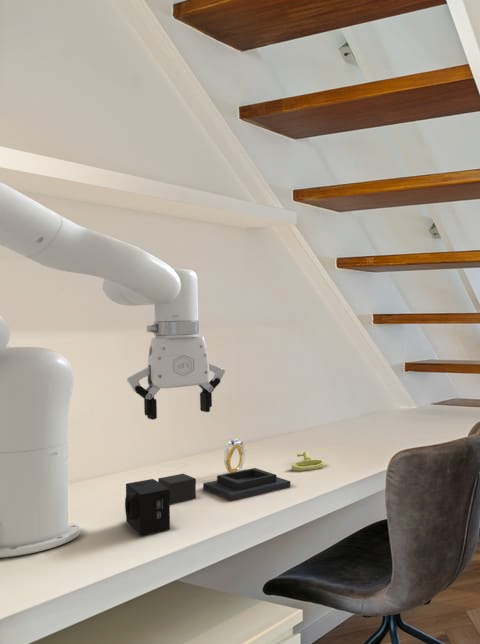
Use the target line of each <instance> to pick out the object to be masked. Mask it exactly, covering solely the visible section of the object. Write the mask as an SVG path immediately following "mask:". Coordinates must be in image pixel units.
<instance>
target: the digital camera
mask: <svg viewBox="0 0 480 644" xmlns="http://www.w3.org/2000/svg"><path fill="white" fill-rule="evenodd" d="M170 507H171V504H170V490H169V489H168V488H167V487H165V486H164V485H162V484H161V483H159V482H158V480H156V479H154V478H149V479H145V480H138V481H132V482H128V483H125V498H124V511H125V516H126V517H125V522H126V523H127V524H128V525H129V526H130V528H131V529H133V531H135V533H137V534H138V535H139V537H142V536H143V537H144V536H147V535H151V534H155V533H160V532H164V531H165V532H166V531H169V530H171V508H170Z"/></svg>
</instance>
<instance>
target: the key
mask: <svg viewBox="0 0 480 644" xmlns="http://www.w3.org/2000/svg"><path fill="white" fill-rule="evenodd" d="M296 457H303V459H302V460H299V461H295V462H293V463H292V464H291V470H292V471H293V472H301V471H313V470H318V469H323V468H324V467H325V461H324V460H323V459H311V457H310V455H309V451H307V450H305V451H303V452H300V453H297V454H296Z"/></svg>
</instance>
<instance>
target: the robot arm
mask: <svg viewBox="0 0 480 644" xmlns="http://www.w3.org/2000/svg"><path fill="white" fill-rule="evenodd" d="M0 246H2V247H5V248H6V249H9V250H10V251H13V252H14V253H17V254H19V255H21V256H23V257H25V258H27V259H29V260H31V261H33V262H36V263H37V264H39V265H41V266H43V267H47V268H50V269H53V270H57V271H62V272H67V273H73V274H74V273H75V274H80V275H81V274H82V275H88V276H93V277H95V278H101V279H103V282H102V290H103V292H104V294H105V296H106V297H107V298H108V299H109V300H110V301H112V302H114V303H116V304H117V305H121V306H131V307H132V306H133V307H134V306H135V307H136V306H150V305H151V306H152V305H153V306H154V321H153V324H151V325H150V324H149V325H147V326H146V332H147V333H151V334H153V336H154V337H152V338H151V340H150V344H149V349H148V356H147V367H146V368H143V369H142V370H140V371H137V372H136V373H133V374H132V375H130V376H128V377H127V378H126V381H127V383H128V384H129V385H130V388H132V390H133V392H134V393H136V394H137V395H139V396H140V397H141V398H142V399H143V407H144V408H143V412H144V416H145V417H146V418H147V419H149V420H151V421H152V420H156V419H158V408H157V407H158V406H157V405H158V404H157V399H156V398H155V396H156V395H157V393H158V392H159V391H160V390H161V389H173V388H174V389H175V388H184V387H194V386H198V387H199V388H200V389H201V391H200V392H199V405H200V406H199V408H200V411H201V412H204V413H210V412H211V408H212V407H213V395H212V394H213V392H214V391H215V389H216V388H217V387H218V386H219V384H220V383H221V380H222V378H223V377H224V374H225V372H226V370H225V369H223V368H221V367H218V366H216V365H213V364H211V363H210V361H209V355H208V350H207V344H206V339H205V336H203V335H200V327H199V326H200V324H199V285H198V274H197V273H196V272H195V271H194V270H193V269H187V268H173V267H172V266H170V265H169V264H168V263H166V262H165V261H163V260H162V259H160V258H158V257H156V256H154V255H153V254H151V253H149V252H147V251H145V250H144V249H141V248H140V247H138V246H135V245H133V244H131V243H129V242H127V241H123V240H120V239H118V238H115V237H112V236H109V235H107V234H104V233H102V232H99V231H97V230H93V229H91V228H88V227H84V226H82V225H79V224H78V223H75V222H74V221H72V220H70V219H68V218H66V217H65V216H63V215H61V214H59V213H57V212H56V211H54V210H52V209H50V208H48V207H46V206H45V205H43V204H41V203H39V202H37V201H36V200H34V199H32V198H31V197H29V196H27V195H25V194H24V193H22V192H20V191H18V190H16V189H15V188H13V187H11V186H9V185H7V184H5V183H4V182H2V181H0ZM10 338H11V330H10V326H9V324H8V322H7V321H6V320H5V318H4V317H3V316H2V315H1V314H0V558H8V557H9V558H10V557H18V556H25V555H30V554H34V553H38V552H43V551H46V550H49V549H53V548H56V547H59V546H61V545H65V544H67V543H69V542H71V541H73V540H74V539H76V538H77V537H78V536H79V535H80V534H81V527H80V525H79V524H77V523H73V522H69V466H68V465H69V456H68V454H69V451H68V447H69V445H68V444H69V442H68V420H69V409H70V402H71V397H72V394H73V389H74V384H75V383H74V380H75V377H74V376H75V375H74V371H73V368H72V366H71V364H70V362H69V360H68V359H67V358H66V357H64V356H63V355H62V354H61V353H59V352H57V351H55V350H53V349H49V348H45V347H37V346H14V347H13V346H9V345H8V344H9V342H10ZM210 372H211V373H213V378H212V379H211V380H210V377H211V375H210V374H211V373H210ZM146 377H147V378H146ZM144 378H146V379H147V384H148V386H147V387H146V388H145V387H143V386H142V385H141V384H140V381H141V380H142V379H144Z"/></svg>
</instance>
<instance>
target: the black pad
mask: <svg viewBox="0 0 480 644" xmlns="http://www.w3.org/2000/svg"><path fill="white" fill-rule="evenodd" d="M157 481H158V482H159V483H161V484H162V485H164V486H165V487H167V488H168V489H169V490H170V505H172V504H178V503H181V502H186V501H190V500H194V499H197V486H196V485H197V479H196V478H195V477H193V476H191V475H188V474H185V473H179V474H174V475H168V476H163V477H158V478H157Z"/></svg>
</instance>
